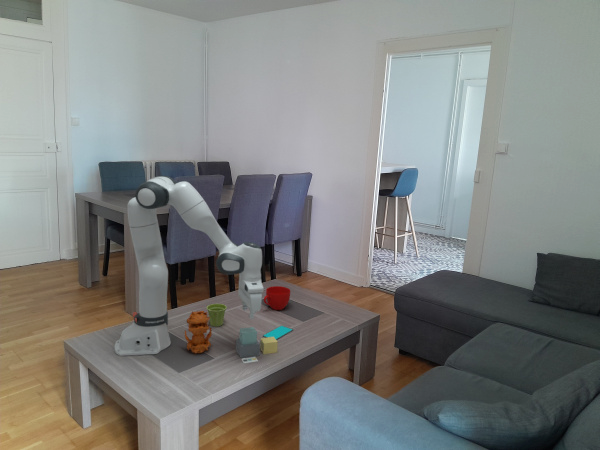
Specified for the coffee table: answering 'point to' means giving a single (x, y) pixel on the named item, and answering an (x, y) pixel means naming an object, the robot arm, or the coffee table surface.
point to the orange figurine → (198, 332)
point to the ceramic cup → (277, 297)
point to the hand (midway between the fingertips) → (247, 314)
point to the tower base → (247, 349)
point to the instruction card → (249, 360)
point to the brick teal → (248, 336)
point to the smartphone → (278, 332)
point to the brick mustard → (268, 345)
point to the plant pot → (216, 314)
